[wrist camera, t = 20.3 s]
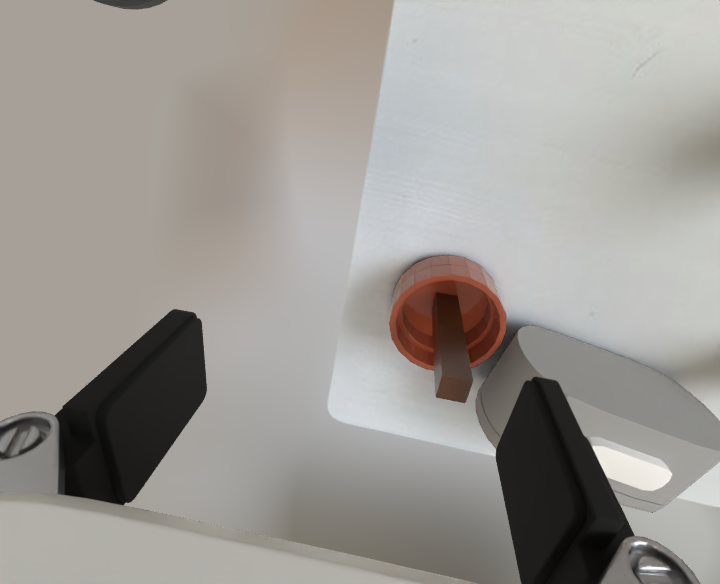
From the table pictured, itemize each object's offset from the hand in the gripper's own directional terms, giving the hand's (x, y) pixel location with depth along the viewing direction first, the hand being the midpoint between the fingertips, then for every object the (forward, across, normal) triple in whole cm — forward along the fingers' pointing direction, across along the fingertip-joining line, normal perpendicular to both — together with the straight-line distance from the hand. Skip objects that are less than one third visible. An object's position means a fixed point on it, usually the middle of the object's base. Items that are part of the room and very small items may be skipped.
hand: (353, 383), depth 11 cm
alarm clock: (+31, -23, +19) cm, 43 cm away
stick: (+30, -7, +12) cm, 33 cm away
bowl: (+30, -7, +12) cm, 33 cm away
